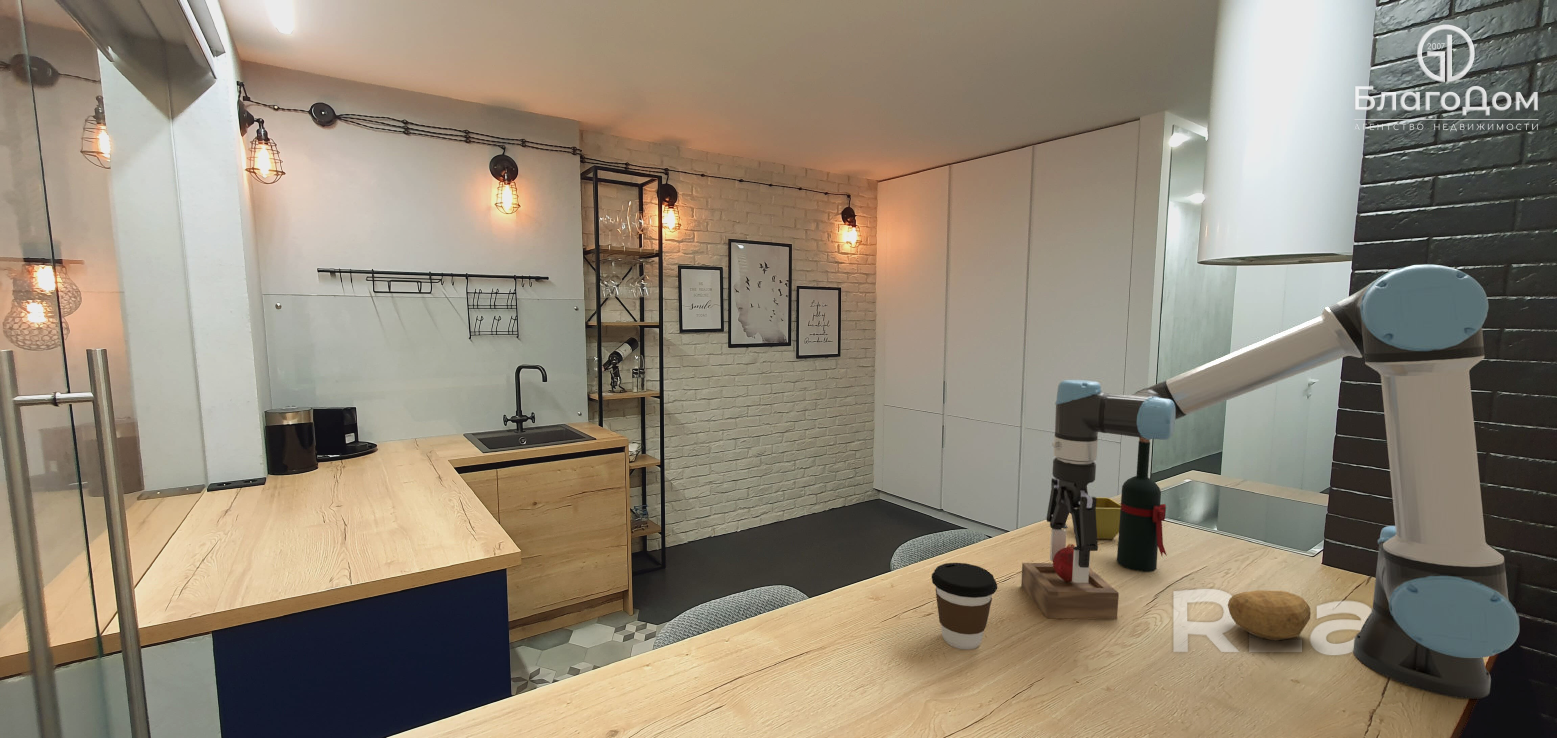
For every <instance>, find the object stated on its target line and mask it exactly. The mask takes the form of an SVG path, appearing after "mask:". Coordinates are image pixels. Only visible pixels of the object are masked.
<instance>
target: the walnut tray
mask: <svg viewBox="0 0 1557 738" xmlns="http://www.w3.org/2000/svg"><path fill="white" fill-rule="evenodd" d="M1020 584H1021V585H1020V587H1021V589H1023V590H1024V592H1025V594H1027V595H1028V596H1029V598H1030V599H1031V600H1032V601H1033V602H1034V603H1035V605H1036V606H1037V607H1038V608H1039V610H1041V612H1042V613H1043V615H1044V616H1045V617H1046V618H1047V619H1084V620H1085V619H1087V620H1118V612H1119V611H1118V609H1119V594H1120V592H1118V590H1117V589H1115V588H1114V587H1113V586H1112V585H1110V584H1109V583H1108V582H1107V581H1105V580H1104V578H1102V577H1101V576H1100V575H1099V574H1097V573H1096V572H1095V571H1094V570H1093V569H1092V568H1090V567H1089V579H1088V583H1077V582H1073V581H1071V582H1065V581H1064V580H1063V579H1062V578H1060V577H1059V576H1058V575H1057V573H1056V572H1055V570H1054V567H1053V562H1050V563H1049V562H1044V563H1043V562H1022V563H1021V580H1020Z"/></svg>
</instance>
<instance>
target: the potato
mask: <svg viewBox="0 0 1557 738" xmlns="http://www.w3.org/2000/svg"><path fill="white" fill-rule="evenodd" d="M1227 608H1228V612H1229V615H1230V617H1231V619H1232V620H1233V621H1234V623H1235V624H1236V626H1238V627H1239V628H1241V629H1242V630H1244V631H1246V632H1247V633H1250V634H1251V635H1253V636H1256V637H1258V638H1262V639H1264V640H1271V641H1279V640H1281V641H1282V640H1287V639H1293V638H1296V637H1298V636H1299V635H1301V634H1302V632H1303V630H1305V627H1306V625H1308V623H1309V621H1310V620H1311V614H1312V613H1311V607H1310V605H1309V603H1308V602H1307V601H1306V600H1305V599H1304V598H1303V597H1301V596H1299V595H1297V594H1294V593H1291V592H1290V591H1285V590H1261V589H1260V590H1259V589H1258V590H1252V591H1243V592H1239V593H1236V594H1234V595H1232V596H1231V597H1230V598H1229V601H1228V603H1227Z"/></svg>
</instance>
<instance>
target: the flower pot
mask: <svg viewBox="0 0 1557 738" xmlns="http://www.w3.org/2000/svg"><path fill="white" fill-rule="evenodd" d="M1095 497H1096V496H1095ZM1096 499H1097V502H1096V525H1097V540H1098V539H1099V540H1100V539H1101V540H1112V539H1115V537H1116V536H1117V535H1119V523H1120V509H1121V503H1119V502H1117V501H1115V500H1113V499H1111V498H1110V497H1098V496H1097V497H1096ZM1076 509H1079V508H1076Z"/></svg>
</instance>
